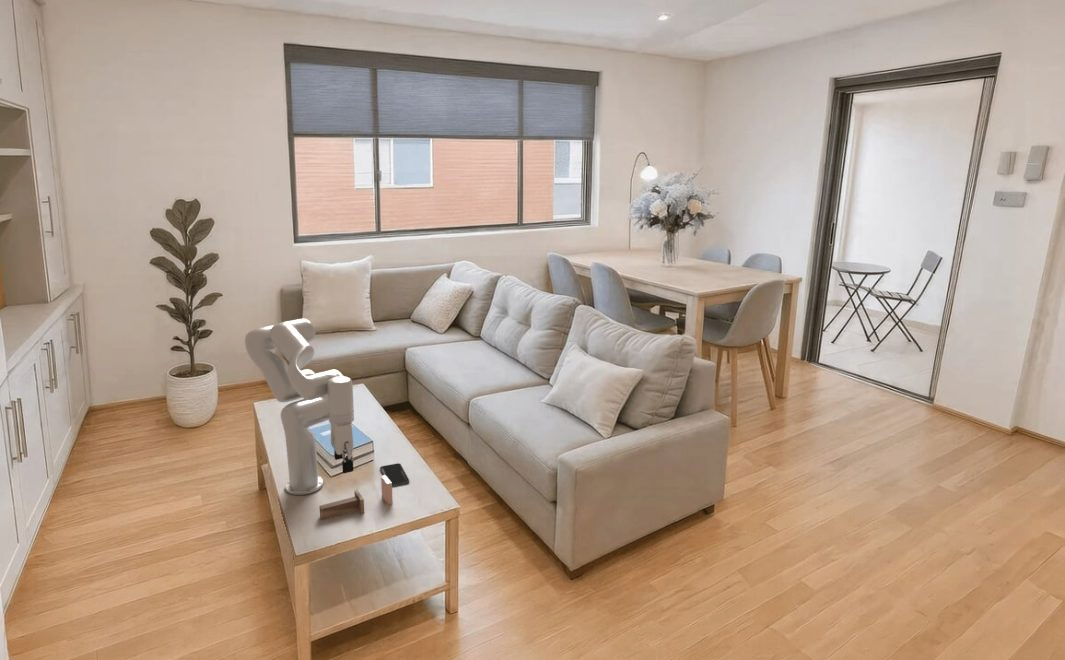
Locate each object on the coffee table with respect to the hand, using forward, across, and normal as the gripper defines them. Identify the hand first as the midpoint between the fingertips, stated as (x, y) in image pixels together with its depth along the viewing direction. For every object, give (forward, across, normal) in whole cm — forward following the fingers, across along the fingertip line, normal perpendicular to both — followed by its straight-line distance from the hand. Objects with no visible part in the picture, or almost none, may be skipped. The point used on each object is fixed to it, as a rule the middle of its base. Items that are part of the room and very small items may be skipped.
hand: (343, 465), depth 200 cm
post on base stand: (+17, -1, -2) cm, 17 cm away
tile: (+17, -1, +14) cm, 22 cm away
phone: (+18, -16, +22) cm, 32 cm away
